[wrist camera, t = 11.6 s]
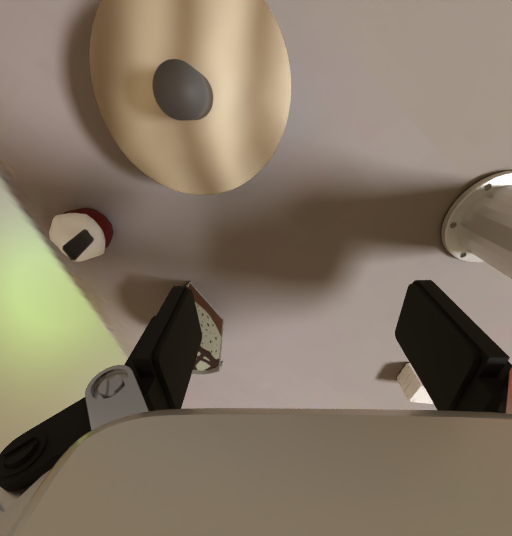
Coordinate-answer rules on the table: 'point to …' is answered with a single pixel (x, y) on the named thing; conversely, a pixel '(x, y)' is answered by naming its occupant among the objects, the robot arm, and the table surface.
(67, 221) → the cocoa
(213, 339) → the food container
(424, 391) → the container set
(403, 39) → the table surface
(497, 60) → the table surface
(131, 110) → the lid
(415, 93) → the table surface
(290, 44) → the table surface
